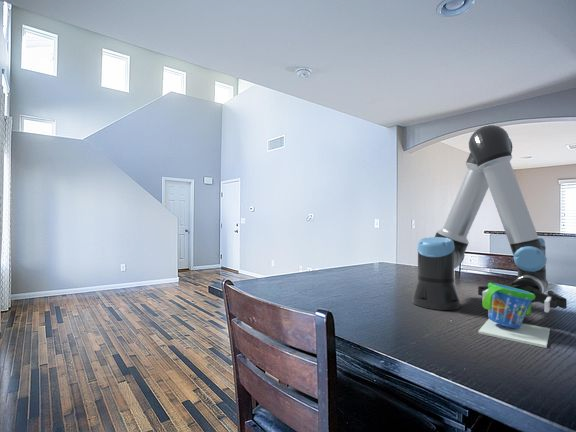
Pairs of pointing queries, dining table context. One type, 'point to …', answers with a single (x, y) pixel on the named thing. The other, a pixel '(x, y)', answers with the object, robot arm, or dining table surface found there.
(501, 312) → the snack cup
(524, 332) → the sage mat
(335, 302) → the dining table surface
